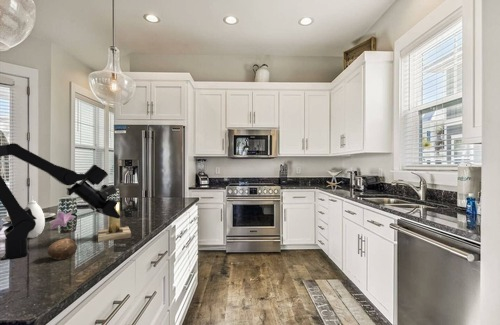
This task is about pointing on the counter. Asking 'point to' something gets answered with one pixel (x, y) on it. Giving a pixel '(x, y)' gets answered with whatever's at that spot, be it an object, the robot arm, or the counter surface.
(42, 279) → the counter surface
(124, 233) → the jig
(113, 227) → the brass cylinder peg
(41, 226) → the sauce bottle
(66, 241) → the potato
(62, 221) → the lily
